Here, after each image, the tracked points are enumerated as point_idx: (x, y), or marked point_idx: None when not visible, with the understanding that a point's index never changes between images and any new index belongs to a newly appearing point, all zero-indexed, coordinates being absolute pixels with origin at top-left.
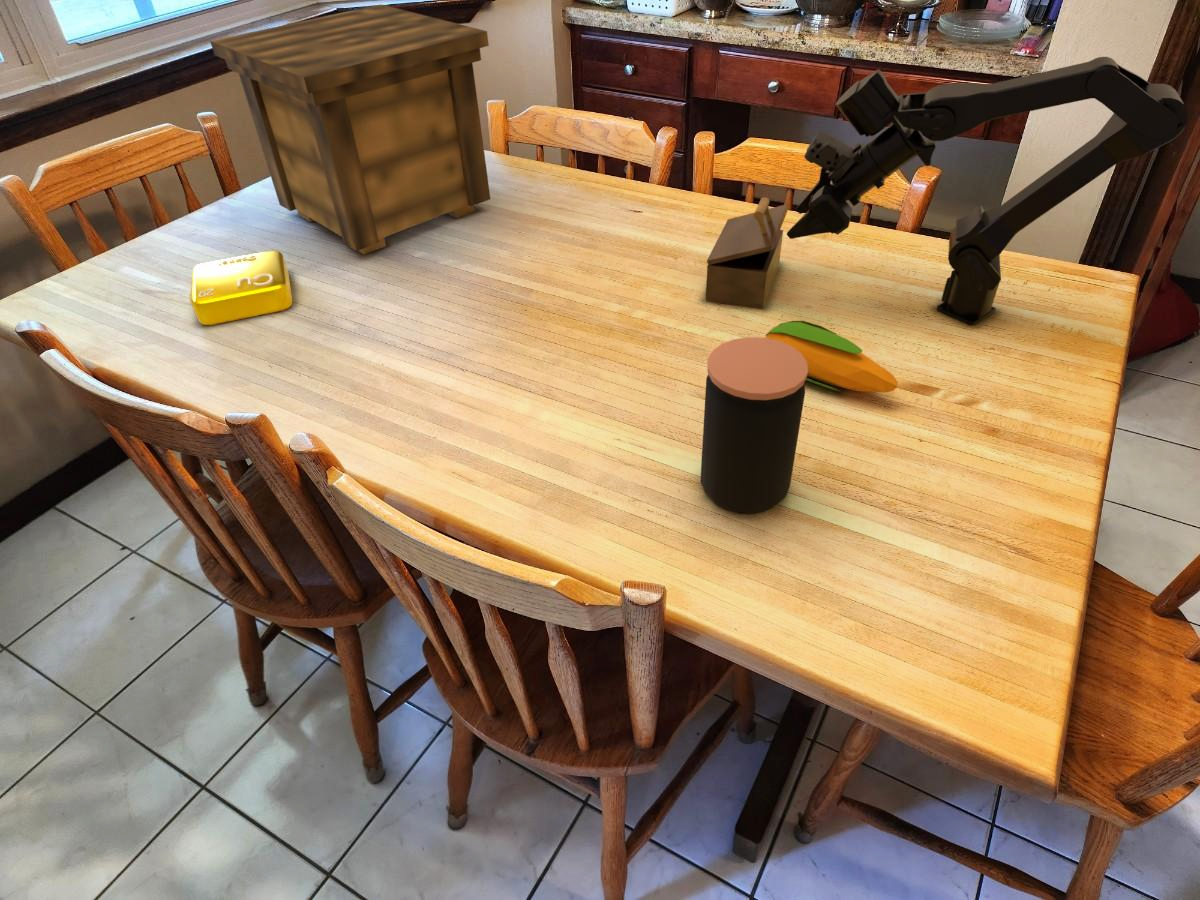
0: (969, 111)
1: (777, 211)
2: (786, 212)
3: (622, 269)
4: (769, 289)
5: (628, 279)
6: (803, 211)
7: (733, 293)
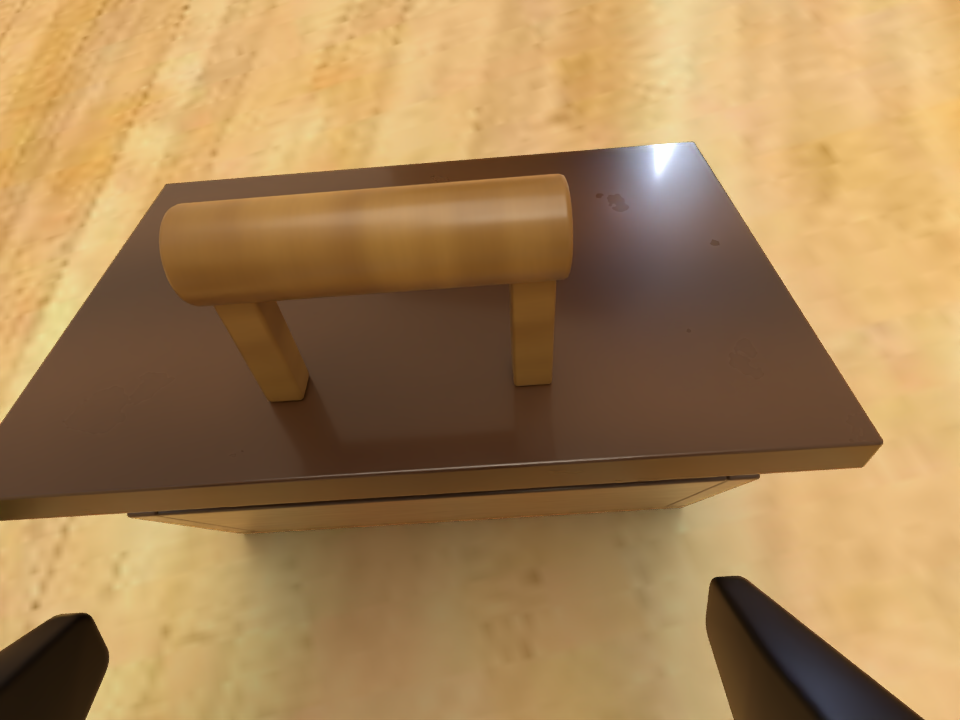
0: None
1: (717, 389)
2: (749, 471)
3: (422, 12)
4: (402, 523)
5: (362, 46)
6: (723, 676)
7: None
